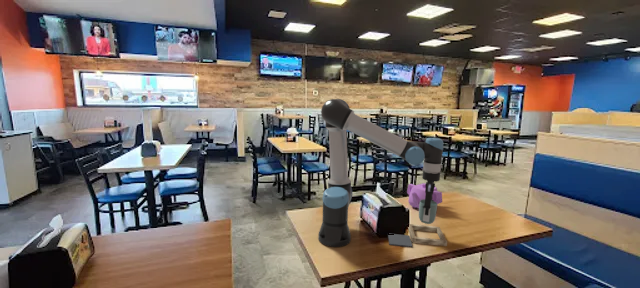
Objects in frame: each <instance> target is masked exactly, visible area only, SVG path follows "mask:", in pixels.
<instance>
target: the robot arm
mask: <svg viewBox="0 0 640 288" xmlns="http://www.w3.org/2000/svg"><path fill="white" fill-rule="evenodd" d="M320 114H321V118H322V119H323V121H324V122H325V123H324V124H325V129H327V131H328V137H329V138H328V140H329V145H328V146H329V165H330V167H329V169H330V178H329V179H328V181H327V188H326V189H325V190H324V191H323V194H322V221H321V222H322V223H321V225H320V228H319V231H318V236H317V238H318V241H319V243H321V244H322V245H324V246H326V247H327V246H328V247H331V248H332V247H333V248H340V247H345V246H347V245H348V244H350V243H351V242H352V241H351V239H352V235H351V231H350V228H349V225H348V222H349V221H348V218H349V217H348V216H349V206H350V204H351V201H352V197H353V189H352V181H351V179H350V178H349V177H348V176H349V175H348V174H349V173H348V140H347V138H348V137H347V131H349V132H351V133H353V134H354V135H357V136H358V137H360V138H362V139H365V140H366V141H368V142H370V143H372V144H374V145H375V146H378V147H380V148H382V149H384V150H386V151H388V152H390V153H391V154H393V155H396V156H397V157H399V158H401V159H403V160H404V161H406V162H407V163H408V164H409V165H411V166H412V165H413V166H418V165H421V164H422V163H423V166H422V170H423V171H422V176H421V177H422V180H424V181H426V182H425V183H426V185H425V187H426V189H425V193H426V196H425V204H424V206H423V208H424V214H423V221H426V222H429V218H430V209H431V207H430V205H431V200H432V195H433V191H434V187H436V183H437V182H439V181H440V180H441V173H440V172H441V171H442V170H441V169H442V168H443V165H442V163H443V162H442V159H443V155H444V154H443V151H444V140H443V139H442V138H439V137H427V138H426V139H425V141H412V140H406V139H404V138H402V137H400V136H398V135H397V134H395V133H393V132H391V131H389V130H387V129H385V128H383V127H381V126H379V125H377V124H375V123H373V122H371V121H369V120H368V119H366V118H363V117H362V116H360V115H358V114H356V113H355V111H354V110H353V109H351V108H350V106H349V104H348V103H347V102H346V101H345V99H344V100H343V99H342V98H332V99H328V100H327V101H325V102H324V103H323V105H322V106H321V111H320ZM435 182H436V183H435ZM432 201H434V200H432Z"/></svg>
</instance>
